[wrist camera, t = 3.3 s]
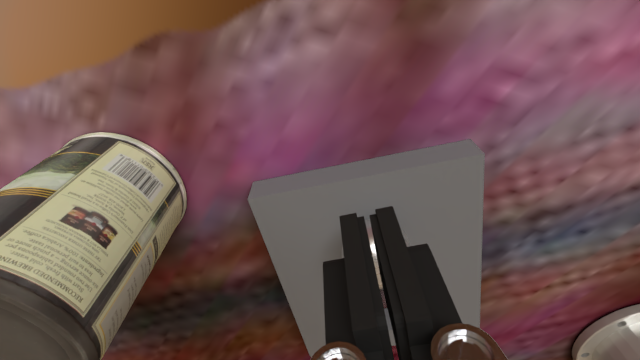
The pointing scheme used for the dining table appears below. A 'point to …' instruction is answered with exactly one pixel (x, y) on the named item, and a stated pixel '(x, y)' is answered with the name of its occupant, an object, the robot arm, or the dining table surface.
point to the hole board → (363, 198)
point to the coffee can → (82, 244)
